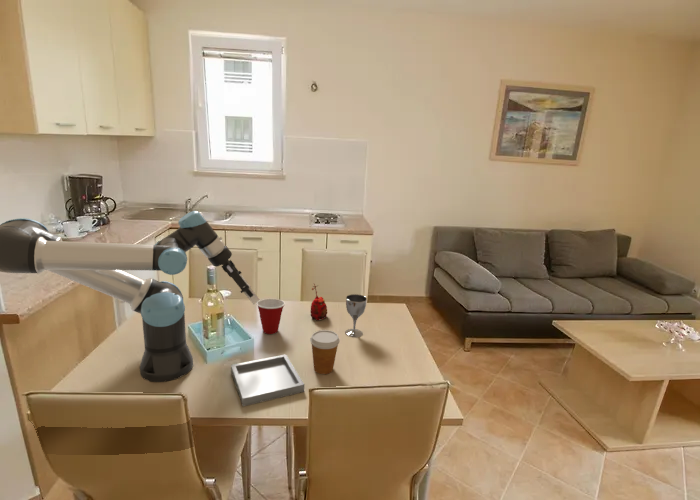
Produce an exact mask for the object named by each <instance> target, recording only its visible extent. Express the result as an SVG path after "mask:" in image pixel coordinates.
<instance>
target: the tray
mask: <svg viewBox="0 0 700 500" xmlns="http://www.w3.org/2000/svg"><path fill="white" fill-rule="evenodd" d="M230 372H231V376H232V378H233V381H234V384H235V387H236V390H237V393H238V397H239V399H240V402H241V405H242V407H246V406H250V405H254V404H258V403H262V402H266V401H272V400H275V399H279V398H283V397H288V396H291V395H295V394H296V395H297V394H299V393H300V392H301V393H304V392H305V383H304V381H303V379H302V378H301V377H300V374H299V372H298V371H297V369H296V368H295V367H294V365H293V364H292V362H291V359H290V358H289V357H288V355H287V354H285V353H284V354H281V355H277V356H276V355H275V356H271V357H266V358H260V359H256V360H255V359H254V360H250V361H249V360H248V361H244V362H239V363H233V364H230Z"/></svg>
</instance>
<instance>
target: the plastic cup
mask: <svg viewBox="0 0 700 500" xmlns="http://www.w3.org/2000/svg"><path fill="white" fill-rule="evenodd" d="M255 304H256V305H257V309H258V312H259V318H260V323H261V327H262V329H261V330H262V331H263V333H264V334H267V335H273V334H274V335H275V334H276V333H278V332H279V327H280V323H281V318H282V313H283V310H284V306H285V305H286V302H285V301H284V300H282V299H279V298H264V299H260V300H259V301H258V302H257V303H255Z"/></svg>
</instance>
